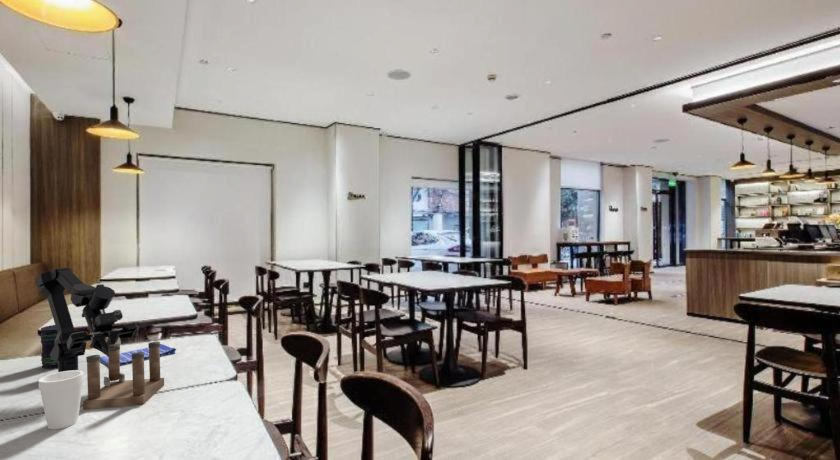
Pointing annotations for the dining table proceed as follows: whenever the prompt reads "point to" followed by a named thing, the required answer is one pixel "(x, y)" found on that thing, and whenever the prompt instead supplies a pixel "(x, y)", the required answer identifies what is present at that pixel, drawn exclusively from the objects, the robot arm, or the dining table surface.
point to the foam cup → (61, 397)
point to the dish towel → (127, 356)
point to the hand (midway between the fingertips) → (112, 356)
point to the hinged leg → (114, 362)
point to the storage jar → (48, 346)
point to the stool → (124, 382)
